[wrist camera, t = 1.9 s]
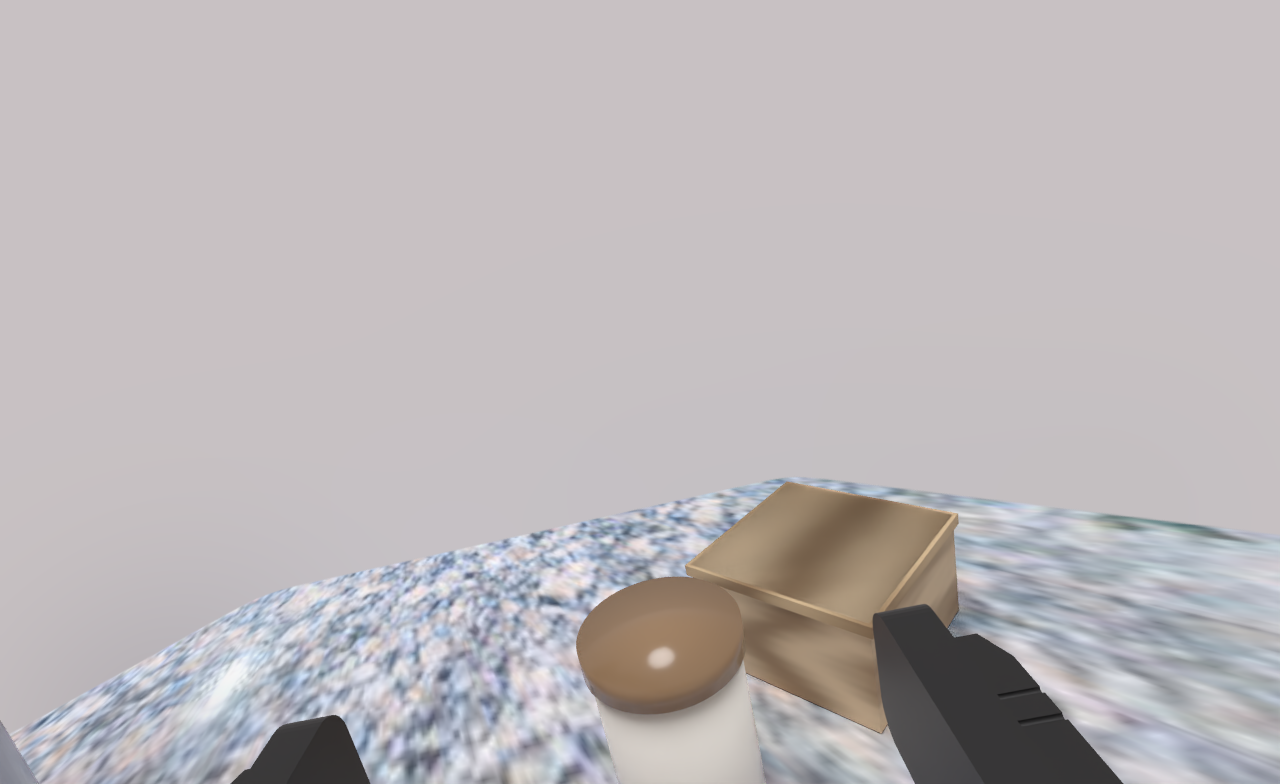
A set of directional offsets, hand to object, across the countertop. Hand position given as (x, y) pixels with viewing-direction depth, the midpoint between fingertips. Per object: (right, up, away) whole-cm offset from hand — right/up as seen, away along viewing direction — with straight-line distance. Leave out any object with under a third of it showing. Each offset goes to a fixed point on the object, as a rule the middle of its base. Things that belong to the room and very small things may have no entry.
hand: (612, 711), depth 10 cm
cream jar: (+3, -14, +16) cm, 21 cm away
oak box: (+11, -9, +26) cm, 30 cm away
